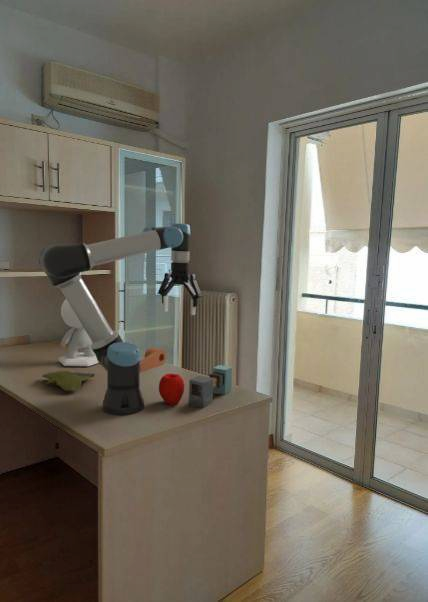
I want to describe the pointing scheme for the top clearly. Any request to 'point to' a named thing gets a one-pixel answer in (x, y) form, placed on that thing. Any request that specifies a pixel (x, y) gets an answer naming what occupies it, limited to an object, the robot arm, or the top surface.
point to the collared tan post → (216, 380)
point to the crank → (152, 359)
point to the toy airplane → (67, 379)
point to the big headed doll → (76, 340)
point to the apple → (171, 388)
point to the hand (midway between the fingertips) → (179, 313)
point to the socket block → (227, 379)
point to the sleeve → (198, 396)
